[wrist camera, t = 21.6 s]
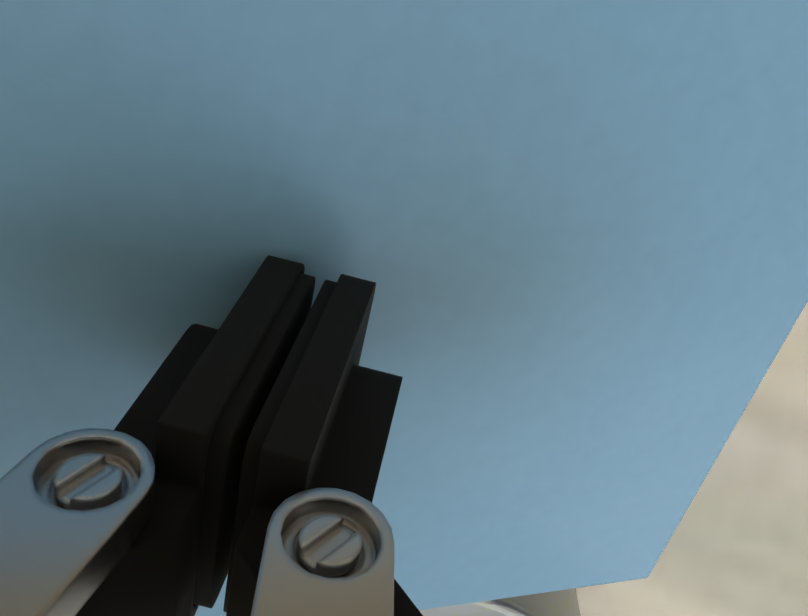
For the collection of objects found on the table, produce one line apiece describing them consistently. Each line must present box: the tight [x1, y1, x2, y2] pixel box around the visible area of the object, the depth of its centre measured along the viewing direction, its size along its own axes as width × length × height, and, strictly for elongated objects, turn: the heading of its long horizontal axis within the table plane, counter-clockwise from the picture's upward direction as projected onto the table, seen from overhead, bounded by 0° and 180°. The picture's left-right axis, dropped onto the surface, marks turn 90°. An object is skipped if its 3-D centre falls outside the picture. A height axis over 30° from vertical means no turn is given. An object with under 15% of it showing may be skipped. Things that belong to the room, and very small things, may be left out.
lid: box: [0, 0, 808, 616], centre depth 13 cm, size 16×16×1 cm
